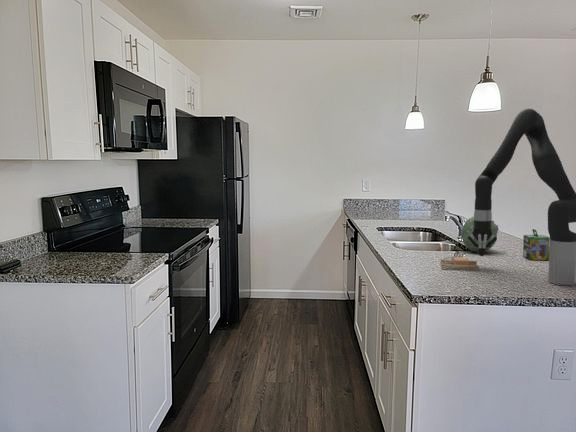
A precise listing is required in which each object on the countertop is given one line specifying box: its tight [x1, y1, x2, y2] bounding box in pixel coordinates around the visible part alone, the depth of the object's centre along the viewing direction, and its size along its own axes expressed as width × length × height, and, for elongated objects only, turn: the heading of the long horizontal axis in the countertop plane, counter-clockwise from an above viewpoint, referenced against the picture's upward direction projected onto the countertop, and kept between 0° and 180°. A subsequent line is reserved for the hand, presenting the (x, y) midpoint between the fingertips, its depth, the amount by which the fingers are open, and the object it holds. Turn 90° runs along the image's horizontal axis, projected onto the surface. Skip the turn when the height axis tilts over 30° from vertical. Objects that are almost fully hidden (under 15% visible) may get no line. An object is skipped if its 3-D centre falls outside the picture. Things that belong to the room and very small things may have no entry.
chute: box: [440, 258, 480, 272], centre depth 195 cm, size 12×16×2 cm
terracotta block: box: [453, 257, 470, 265], centre depth 195 cm, size 6×6×4 cm
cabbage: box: [460, 216, 499, 253], centre depth 224 cm, size 16×19×20 cm
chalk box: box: [522, 228, 550, 261], centre depth 206 cm, size 9×9×15 cm
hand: (481, 255), depth 192 cm, fingers closed
